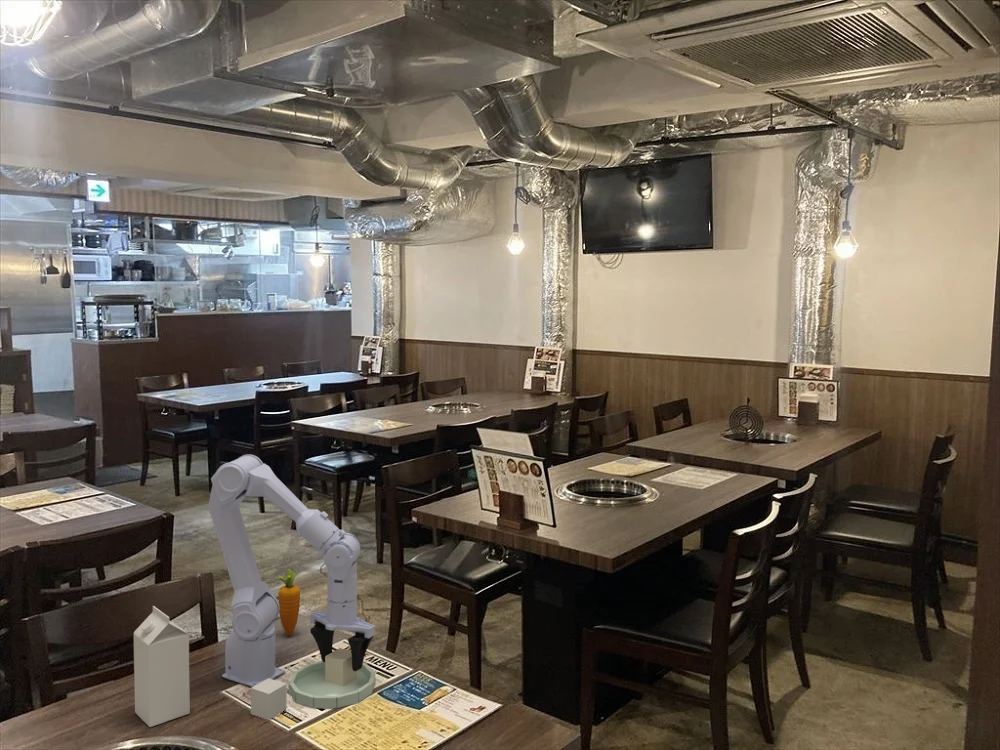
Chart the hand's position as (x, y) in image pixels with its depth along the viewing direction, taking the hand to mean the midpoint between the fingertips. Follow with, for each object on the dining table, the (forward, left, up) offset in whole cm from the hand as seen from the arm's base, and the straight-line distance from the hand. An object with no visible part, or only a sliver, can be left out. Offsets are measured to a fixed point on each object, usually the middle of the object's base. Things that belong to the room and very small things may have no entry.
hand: (341, 664), depth 155 cm
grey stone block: (-4, -16, -4) cm, 17 cm away
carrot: (-24, +11, -4) cm, 27 cm away
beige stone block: (0, 0, -3) cm, 3 cm away
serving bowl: (0, -3, -3) cm, 4 cm away
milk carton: (-20, -26, -4) cm, 33 cm away
